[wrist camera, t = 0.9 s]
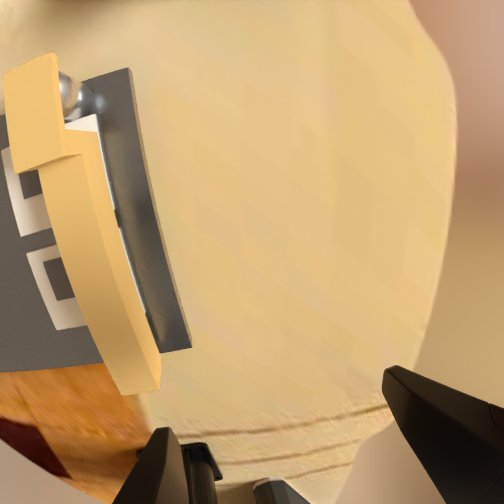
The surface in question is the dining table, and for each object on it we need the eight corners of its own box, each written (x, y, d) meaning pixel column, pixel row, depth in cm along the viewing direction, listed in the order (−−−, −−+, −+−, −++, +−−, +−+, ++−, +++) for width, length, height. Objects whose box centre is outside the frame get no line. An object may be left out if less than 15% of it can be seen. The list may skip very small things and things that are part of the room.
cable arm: (50, 89, 12) (3, 74, 7) (89, 75, 12) (50, 51, 8) (128, 364, 17) (117, 421, 13) (161, 359, 18) (157, 417, 13)
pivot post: (101, 116, 14) (64, 105, 9) (68, 126, 14) (22, 122, 9) (96, 81, 14) (59, 59, 9) (63, 93, 13) (18, 77, 8)
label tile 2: (114, 209, 15) (113, 210, 15) (23, 235, 14) (20, 237, 14) (95, 114, 13) (93, 114, 13) (3, 150, 13) (-1, 150, 12)
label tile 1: (145, 311, 17) (144, 315, 17) (58, 327, 16) (56, 331, 16) (119, 227, 15) (118, 229, 15) (28, 252, 15) (25, 254, 14)
